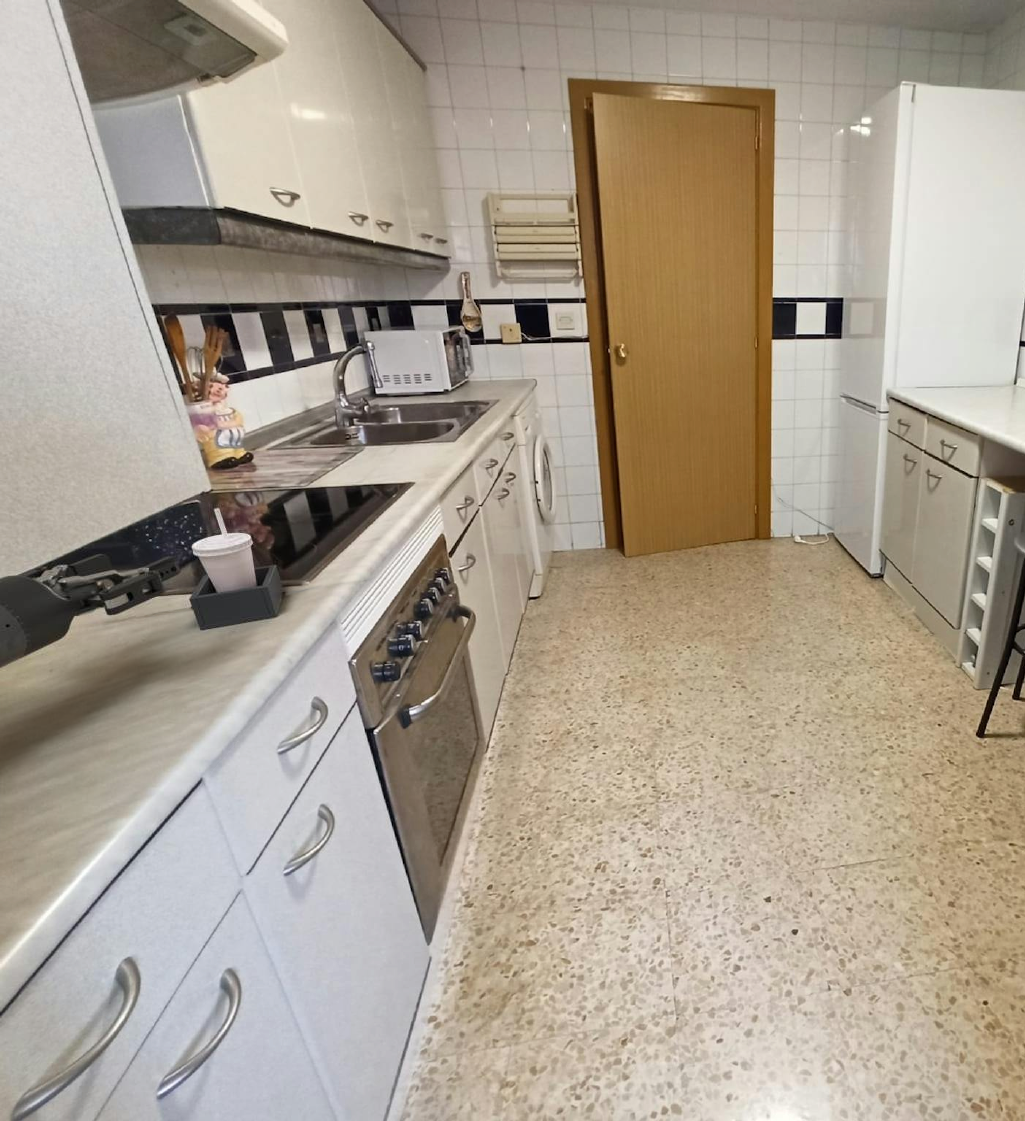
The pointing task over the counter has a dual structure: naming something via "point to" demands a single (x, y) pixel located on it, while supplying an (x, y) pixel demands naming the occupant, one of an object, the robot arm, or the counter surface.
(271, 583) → the open box
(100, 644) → the counter surface
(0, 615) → the robot arm
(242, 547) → the smoothie
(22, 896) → the counter surface
